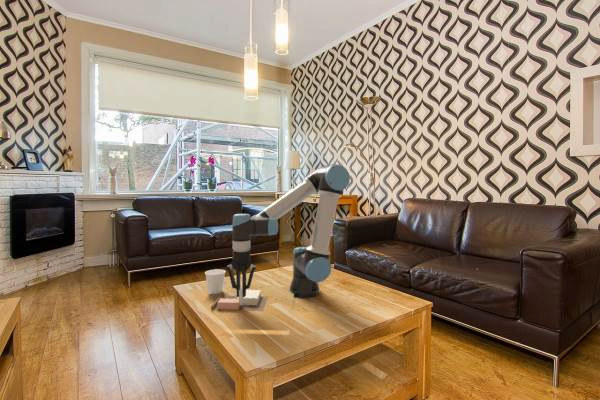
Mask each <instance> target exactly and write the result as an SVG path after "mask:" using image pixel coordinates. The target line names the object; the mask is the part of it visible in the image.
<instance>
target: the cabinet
mask: <svg viewBox="0 0 600 400" xmlns="http://www.w3.org/2000/svg"><path fill="white" fill-rule="evenodd" d="M240 306H241V305H239V298H220V300H219V301H218V302H217V309H231V310H230V311H240V310H239V308H240Z"/></svg>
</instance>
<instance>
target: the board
mask: <svg viewBox="0 0 600 400" xmlns="http://www.w3.org/2000/svg"><path fill="white" fill-rule="evenodd" d="M220 298H237V295H225V292H223V291H222V292H221V294H219V296H218V297H217V299H216V300H215V301H214V302H213V304H212V305H211V306H210V310H212V311H214V310H215V311H232V310H231V309H217V302H218V301H219V300H220ZM268 299H269V296H262V295H261V297H260V300H259V302H258V304H257V305H241V306H240V308H239V310H238V311H245V312H246V311H249V312H250V311H251V312H263V311H264V309H265V307H266V304H267V302H268Z"/></svg>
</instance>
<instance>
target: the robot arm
mask: <svg viewBox="0 0 600 400" xmlns="http://www.w3.org/2000/svg"><path fill="white" fill-rule="evenodd" d="M350 178H351V177H350V173H349V171H348V169H347V168H346V167H345V166H343V165H341V164H335V163H333V164H327V165H321V166H320V167H318V168H316V169H315V170H314V171H312V172H311V173H310V174H309V175H307V176H306V177H305V178H304V180H303V182H301V183H300V184H298V185H297V186H296V187H294V188H293V189H291V190H290V191H288V192H287V193H286V194H284V195H283V196H281V197H280V198H278V199H277V200H276V201H274V202H273V203H271V204H270V205H269V206H268V207H266V208H264V209H263V210H262V211H261V212H259V213H256V214H254V215H252V216H251V214H249V213H236V214H234V215H233V216H232V225H231V226H232V250H233V251H232V253H231V254H232V260H231V263H230V264H228V265H227V266H226V267H225V269H226V270H227V272H228V276H229V280H230V284H231V288H232V289H235V290H236V296H237V297H239V305H243V303H244V297H245V296H246V290H250V288H251V286H252V280H253V277H254V273H255V271H256V269H257V265H254V264H252V261H251V237H254V236H255V237H256V236H257V237H258V236H259V237H260V236H275V235H277V234H278V232H279V222H278V219H280V218H281V217H283V216H284V215H286V214H287V213H288V212H289V211H291V210H293V208H295V207H297V206H298V205H300V204H301V203H303V201H305V200H306V199H308V198H309V197H311V196H312V195H317V194H319V200H318V206H317V210H316V215H315V218H314V219H315V220H314V223H313V228H312V234H311V239H310V244H309V246H298V247H295V248H294V249H293V253H292V258H293V260H292V262H293V263H292V265H293V268H292V271H293V272H292V273H293V274H292V279H291V283H290V285H289V292H290V293H291V294H293V296H294V297H297V298H312V296H313V297H316V296H318V295H320V286H319V283H320V282H321V283H322V282H323V281H326V279H328V278H329V276H330V275H331V274H332V273H331V272H332V264H331V261H330V259H331V258H330V257H331V252H330V250H329V246H330V242H331V238H332V237H331V236H332V233H333V232H332V231H333V225H334V222H335V217H336V212H337V208H338V202H339V199H340V198H341V197H343V194H344V189H346V188H347V187H348V186H349V184H350V181H351V179H350ZM249 268H250V269H249ZM233 270H235V274H236V279H235V274H234V271H233ZM248 270H250V272H249V276H248V280H247V271H248ZM241 277H242V278H241ZM241 280H242V285H241ZM241 287H242V288H241ZM317 294H318V295H317ZM315 295H316V296H315Z"/></svg>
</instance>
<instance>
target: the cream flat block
mask: <svg viewBox="0 0 600 400" xmlns="http://www.w3.org/2000/svg"><path fill="white" fill-rule="evenodd" d="M261 296H262V290H261V289H246V296H245V297H244V303H243V305H257V304H258V302H259V300H260V297H261ZM237 298H239V297H237Z"/></svg>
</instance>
